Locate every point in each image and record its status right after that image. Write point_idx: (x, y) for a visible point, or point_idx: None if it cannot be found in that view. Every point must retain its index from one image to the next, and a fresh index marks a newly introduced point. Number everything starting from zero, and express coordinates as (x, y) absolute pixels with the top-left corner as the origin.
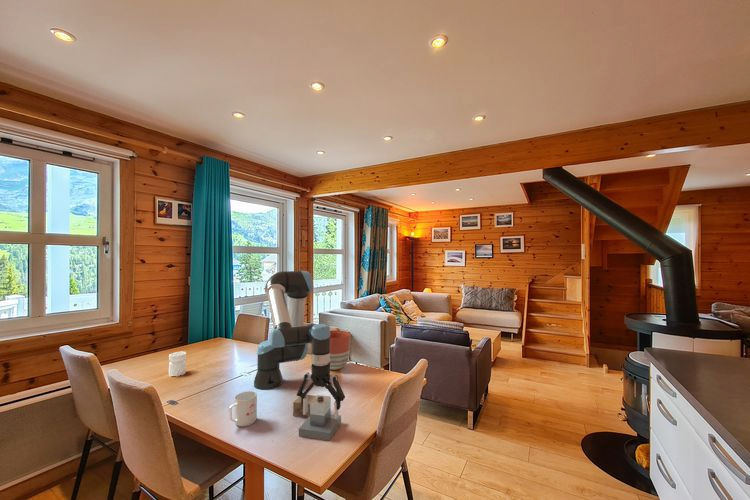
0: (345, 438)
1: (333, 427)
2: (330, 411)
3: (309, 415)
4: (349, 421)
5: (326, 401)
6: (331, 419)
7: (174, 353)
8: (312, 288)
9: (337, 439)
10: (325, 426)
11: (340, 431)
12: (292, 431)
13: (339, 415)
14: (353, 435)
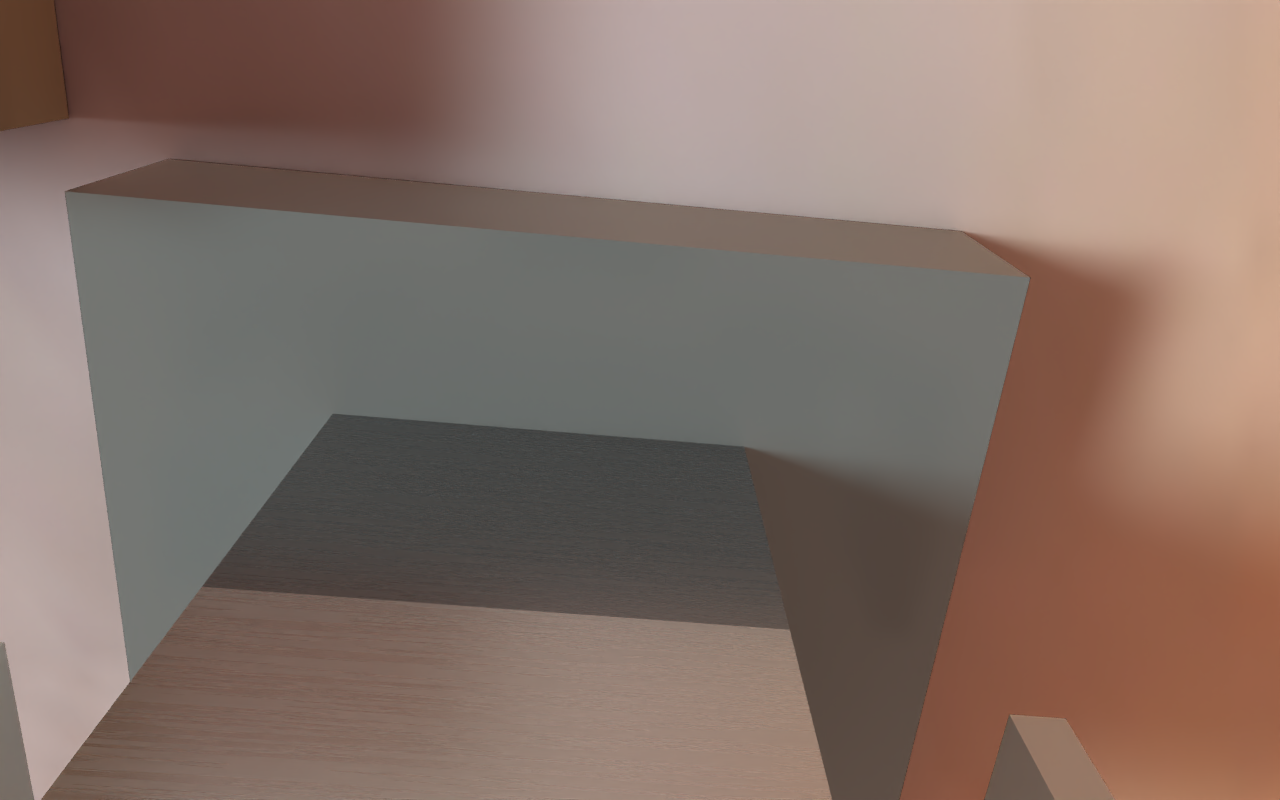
0: (1110, 735)
1: (901, 777)
2: (767, 559)
3: (12, 123)
4: (1180, 140)
5: None
6: (785, 510)
7: None
8: None
9: (963, 774)
10: None
11: (990, 556)
12: (13, 669)
13: (981, 279)
14: (1266, 641)
